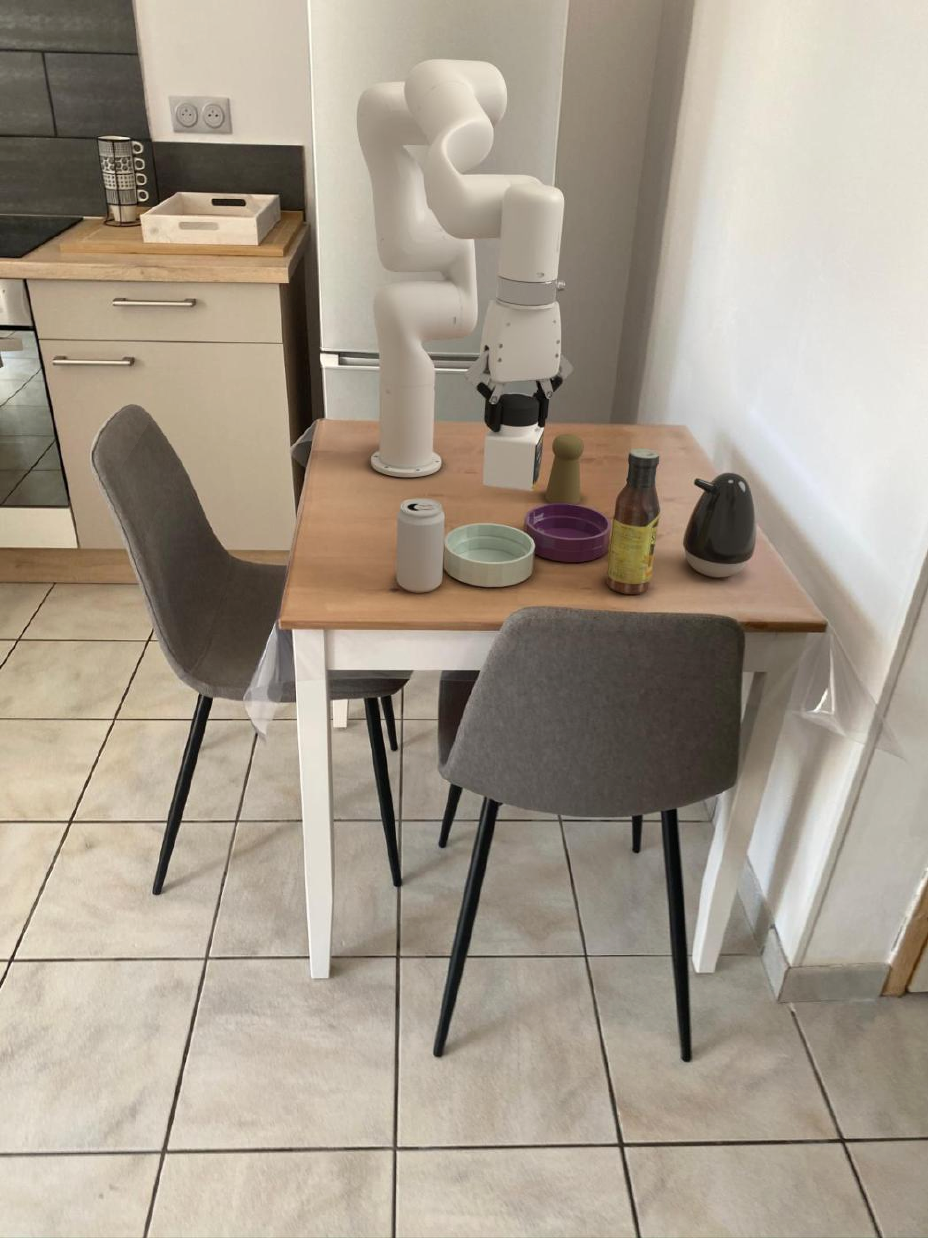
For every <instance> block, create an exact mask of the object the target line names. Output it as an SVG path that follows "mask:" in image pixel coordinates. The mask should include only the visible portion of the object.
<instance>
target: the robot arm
mask: <svg viewBox="0 0 928 1238" xmlns="http://www.w3.org/2000/svg"><path fill="white" fill-rule="evenodd" d="M507 105H508V90H507V85H506V81H505V79H504V76H503V75H502V73H501V71H500V69H498V68H497V67H496V66H495V65H494V64H492V63H490V62H487V61H484V60H483V61H482V60H472V59H471V60H468V59H447V58H434V59H427V60H424V61H421V62H419V63H417V64H416V65H415V66H414V67H412V68H411V70H410V71H409V72H408V74H407V76H406V78H405V81H386V82H379V83H375V84H372V85H370V86H368V87H367V88H365V89H364V90H363V91H362V93H361V95H360V96H359V99H358V103H357V107H356V130H357V137H358V143H359V145H360V149H361V152H362V156H363V158H364V161H365V164H366V167H367V171H368V174H369V177H370V181H371V189H372V202H373V212H374V226H375V227H374V228H375V237H376V246H377V247H376V248H377V254H378V257H379V261H380V263H381V265H382V266H383V268H384V269H385V270H387V271H389V272H393V273H429V272H430V273H431V272H440V274H441V277H442V278H441V279H435V280H434V279H433V280H432V279H431V280H425V279H424V280H409V281H397V282H393V283H389V284H386V285H384V286H383V287H381V288H380V289H378V291H377V292H376V294H375V296H374V298H373V305H372V306H373V309H372V311H373V318H374V323H375V331H376V337H377V344H378V345H377V347H378V358H379V359H378V365H379V366H378V367H379V371H378V373H379V375H378V377H379V450H377V451H376V452H373V454H372V455H371V456H370V457H371V458H370V466H371V467H372V468H373V470H375V471H376V472H378V473H380V474H382V475H386V476H390V477H395V478H418V477H419V478H420V477H426V476H429V475H432V474H435V473H437V471H440V468H441V467H442V458H441V456H440V455H439V454H438V453H436V452H435V451H434V428H435V427H434V426H435V399H436V398H435V395H436V394H435V393H436V368H435V364H434V362H433V360H432V359H431V357H430V355H429V354H428V353H427V352H426V351H425V348H423V345H422V344H423V343H425V342H431V341H445V340H453V339H454V340H455V339H462V338H465V337H468V336H469V335H471V334H472V333H473V332H474V330H475V328H476V326H477V322H478V315H479V314H478V313H479V304H478V283H477V282H478V281H477V263H476V245H475V240H481V239H482V240H483V239H499V250H498V251H499V253H498V264H497V265H498V267H497V280H496V282H497V283H496V284H497V285H496V295H495V296H496V297H495V299H490V300H489V303H488V306H487V309H486V313H485V317H484V322H483V327H482V332H481V339H480V348H479V357H478V358H477V359H476V360H475V361H474V362H473V364H472V365H471V366H470V367H469V368H468V369H467V370H466V371H465V372H464V378H465V379H466V380H467V382H469V384H471V385H472V387H474V389H476V391H477V392H478V393H479V394H480V395H481V396H482V397H483V399H484V401H485V402H484V412H483V413H484V414H483V421H484V424H485V426H486V427H487V428H488V429H489V430H490V429H491V430H492V431H493V432H495V433H496V432H499V431H500V425H501V411H502V405H501V404H500V403H499V398H500V396H501V395H502V393H503V391H504V389H505V386H506V385H507V384H510V383H511V384H512V383H524V382H534V385H535V389H536V392H533V394H532V396H533V397H535V398H536V399H537V400H538V401H539V414H538V426H539V427H540V428H545V427H546V420H547V419H548V415H549V414H548V413H549V406H550V399H551V400H552V399H553V397H554V395H555V394H554V393H555V392H556V391H557V390H558V389H559V388H560V387H561V386H562V384H563V381H565V380H566V379H567V378H568V377H569V376H570V375H571V374H572V372H573V371H574V367H573V365H572V364H571V363H570V362H569V360H568V359H567V358H566V357H565V356H564V355H563V353H562V352H561V351H562V322H561V310H560V304H559V302H558V301H556V299H557V298H558V297H557V296H558V293H560V292H563V291H565V289H566V282H565V280H563V279H559V277H558V272H559V265H560V253H561V242H562V232H563V221H564V212H565V197H564V194H563V192H562V191H561V190H560V188H558V187H556V186H554V185H553V186H552V185H548V184H544V183H543V182H542V181H541V180H540V179H538V178H537V177H534V176H532V175H528V174H502V173H499V174H498V173H495V174H493V173H489V174H487V173H485V174H484V173H483V174H482V173H481V174H479V173H476V174H466V173H468V172H470V171H472V170H473V169H475V168H476V167H478V166H479V165H480V164H482V162H484V160H485V159H486V157H488V155H489V153H490V152H491V149H492V147H493V144H494V138H495V137H494V136H495V135H494V134H495V133H494V128H496V127H497V126H498V125H499V124H500V122H501V121H502V119H503V118H504V115H505V113H506V110H507ZM405 146H430V147H429V148H428V151H427V154H426V156H425V161H424V165H423V170H422V168H421V166H419V163H418V162H417V160H415V158H414V157H413V155H412V154H411V153H410V152H409V151H408V150H407V149H406V148H405ZM482 374H484V375H486V376H487V375H488V378H487V380H486V383H485V382H484V381H483V379H481V375H482Z"/></svg>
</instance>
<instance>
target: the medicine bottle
mask: <svg viewBox="0 0 928 1238" xmlns="http://www.w3.org/2000/svg"><path fill="white" fill-rule="evenodd" d="M499 403H500V404H501V405H502V411H501V425H500V431H499V432H496V433H495V432H493V431H492V430H491V429H490V428H489V430H488V432H487V433H486V436H485V437H484V449H483V450H484V451H483V467H482V468H483V472H482V485H483V487H493V488H499V489H500V488H501V489H510V490H518V491H526V492H533V491H534V489H535V487H536V485H537V482H538V479H539V477H540V475H541V470H542V456H543V446H544V432H545V427H543V428H540V427H539V426H538V414H539V401H538V400H537V399H536V398H535V397H533V395H531V394H528V393H525V392H505V393H503V394H501V396H500V398H499Z"/></svg>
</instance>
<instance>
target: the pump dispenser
mask: <svg viewBox="0 0 928 1238" xmlns="http://www.w3.org/2000/svg"><path fill="white" fill-rule="evenodd" d="M693 485H694V486H695V487H698V488H699V489H701V490H703V492H702V494H701V495H700V497H699V498H698V500H697V502H696V503H695V506H694V507H693V510H692V512H691V514H690V517H689V519H688V522H687V525H686V526H685V527H686V528H685V531H684V534H683V539H682V546H683V547H684V554H685V558H686V561H687V563H689V565H690V566H691V567H692V568H693V569H694V570H695V571H697V572H698V573H699V574H702V575H704V576H707V577H711V578H728V577H732V576H734V575H736V574H738V573H740V572H741V571H742V570H743V569H744V568H745V567H746V566H747V564H748V563H749V560H750V559H752V557H753V556H754V553H755V548H756V540H757V539H756V538H757V513H756V507H755V506H756V505H755V501H754V496H753V492H752V489H751V487H750V485H749V483H748V480H747V479H746V478H745V477H744V476H743V475H741V474H739V473H736V472H732V471H731V472H730V471H728V472H723V473H720V474H719V475H717V476H716V477H714V478H713V479H712V480H711V482H710V481H708V480H704V479H701V478H699V477H696V478H695V479H694V480H693Z"/></svg>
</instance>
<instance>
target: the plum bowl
mask: <svg viewBox="0 0 928 1238" xmlns="http://www.w3.org/2000/svg"><path fill="white" fill-rule="evenodd" d="M523 520H524V521H523V530H522V531H523V532H525V533H526V534H528V535H529V536H530V537H531V538H532V539H533V541H534V544H535V555H537V556H539V557H541V558H545V559H548V560H552V561H558V562H563V563H564V562H565V563H582V562H587V561H593V560H595V559H598V558H600V557H602V556H604V555H605V554H606V552H608V550H609V545H610V538H611V530H612V522H611V520H610V518H609V517H608V516H606V515H605V514H604V513H603V512H601V511H600V510H597V509H595V508H592V507H590V506H586V505H581V504H569V503H545V504H540V505H537V506H534V507H532V508H531V509H529V510H528V511H526V513H525V515H524V519H523Z"/></svg>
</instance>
